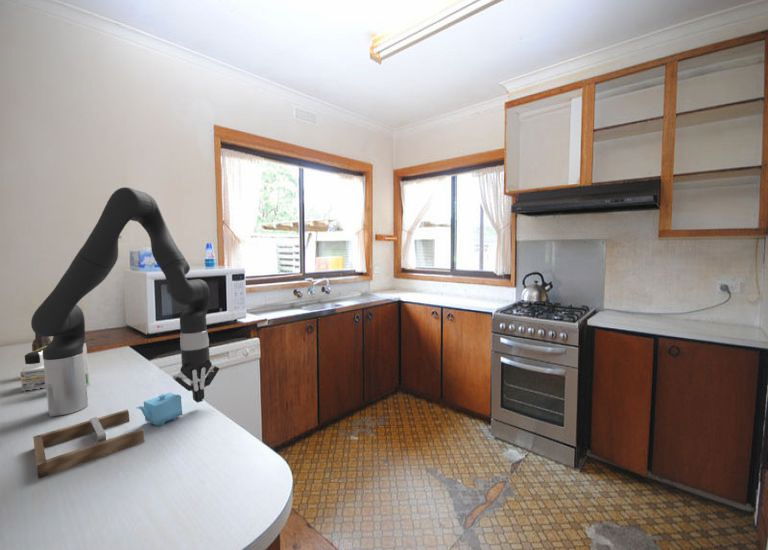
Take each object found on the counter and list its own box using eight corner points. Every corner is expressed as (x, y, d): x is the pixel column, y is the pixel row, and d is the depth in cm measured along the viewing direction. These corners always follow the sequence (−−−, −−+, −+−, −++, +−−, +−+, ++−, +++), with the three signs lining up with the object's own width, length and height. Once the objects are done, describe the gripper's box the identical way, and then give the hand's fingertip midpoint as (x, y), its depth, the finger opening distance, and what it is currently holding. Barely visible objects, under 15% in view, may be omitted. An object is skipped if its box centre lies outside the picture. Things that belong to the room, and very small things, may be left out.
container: (21, 392, 127) (17, 356, 126) (30, 384, 134) (27, 351, 133) (50, 387, 131) (46, 352, 130) (57, 380, 137) (54, 347, 136)
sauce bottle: (41, 377, 142) (36, 328, 140) (29, 376, 143) (24, 327, 141) (59, 371, 148) (54, 324, 146) (47, 371, 149) (42, 324, 148)
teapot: (143, 434, 95) (140, 407, 95) (132, 428, 98) (129, 402, 98) (187, 415, 105) (185, 390, 105) (176, 411, 108) (174, 387, 108)
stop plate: (99, 451, 87) (97, 435, 86) (90, 433, 96) (89, 418, 95) (107, 448, 88) (105, 433, 87) (98, 431, 97) (96, 416, 96)
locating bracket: (38, 478, 77) (36, 465, 77) (34, 448, 90) (33, 436, 89) (144, 441, 91) (143, 430, 91) (128, 419, 104) (127, 409, 103)
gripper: (212, 339, 115) (216, 391, 117) (166, 348, 106) (170, 405, 107) (222, 343, 110) (225, 397, 111) (174, 353, 100) (179, 412, 102)
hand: (198, 401), depth 109 cm, fingers closed
